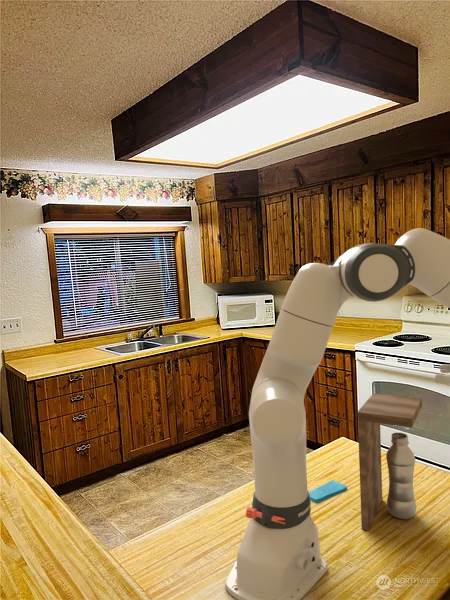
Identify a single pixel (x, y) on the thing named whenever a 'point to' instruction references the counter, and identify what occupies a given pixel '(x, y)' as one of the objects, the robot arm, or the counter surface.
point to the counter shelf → (378, 444)
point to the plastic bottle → (401, 478)
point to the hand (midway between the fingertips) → (438, 373)
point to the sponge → (326, 491)
